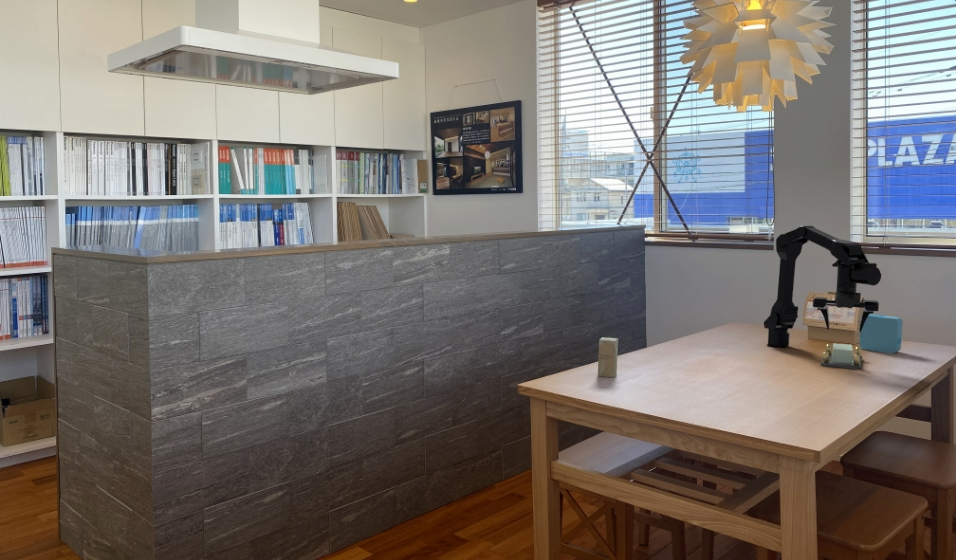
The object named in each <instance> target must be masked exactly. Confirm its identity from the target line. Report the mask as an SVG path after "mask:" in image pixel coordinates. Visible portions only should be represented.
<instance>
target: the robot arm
mask: <svg viewBox="0 0 956 560" xmlns="http://www.w3.org/2000/svg"><path fill="white" fill-rule="evenodd" d="M809 241H810V242H811V243H813V244H816V245H817V246H820V247H821V248H824V249H825V250H827V251H829V252H830V255H831V256H832V257H833V258H835V259H836V261H835V262H834V263H832V264H831V266H832V267H833V268H835V267H836V268H837V269H836V270H837V272H836V273H837V275H836V290H835V292H836V293H835V294H834V295H835V296H834V300H833V299H828V297H827V296H816V297H814V298H813V300H812V308H816V310H817V311H820V312H821V314H822V316H823V318H824V322H825V325H826V329H827V330H830V318H829V317H830V315H829V313H830V312H829V307H836V308H840V309H841V308H843V309H844V308H847V309H853V308H862V309H863V310H862V314H861V318H862V319H861V318H860V324H859V333H860V332H861V330H862V328H863V326H864V323H865V321H866V319H867V317H868V316H869V314H875V313H874V312H879V305H880V302H879V301H878V300H876V299H865V300H864V301H861V298H862V297H861V296H862V293H861V292H857V286H858V284H859V285H864V286H865V285H866V286H877V285H878V284H879V283H880V282H881V279H882V273H881V271H880V269H879V268H878V267H877V266H878V264H877V262H869V260H868V258H867V256H866V254H865V252H864V250H863V249H862V245H861V244H860V243H859V242H858V241H852V240H847V239H840V238H838V237H835V236H833V235H832V234H829V233H827V232H824V231H822V230H820V229H818V228H816V227H815V226H813V225H800V226H798V227H797V228H795V229H792V230H790V231H788V232H785V233H781V234H780V235H778V236H777V237H776V240H775V248H776V249H775V250H776V254H777V255H778V257H779V270H778V271H779V272H778V282H777V283H778V284H777V296H776V300H775V302H774V303H773V304H772V307H771V310H770V314H769V315H768V316H767V318H766V319H765V320H764V321H763V326H764V329H767V330H768V331H767V332H768V333H767V344H766V346H767V347H773V348H775V347H776V348H785V349H786V348H788V346H789V345H790V339H791V338H790V337H791V336H790V335H791V332H789V329H790V330H792V329H793V328H794V325H795V323H796V322H797V318H799V316H798V314H799V313H798V311H799V307H798V305H797V306H796V305H795V303H794V302H793V299H794V298H793V297H794V285H795V272H796V262H797V259H798V258H799V256H800V254H801V253H802V249H803V246H804V245H805V244H807V243H808V242H809Z"/></svg>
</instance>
